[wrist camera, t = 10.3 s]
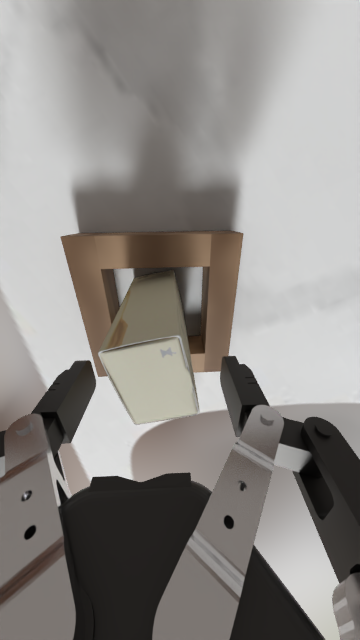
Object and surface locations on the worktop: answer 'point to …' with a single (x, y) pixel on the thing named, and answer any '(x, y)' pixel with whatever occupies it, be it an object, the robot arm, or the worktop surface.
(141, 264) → the socket block
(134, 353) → the skincare box
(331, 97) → the worktop surface
